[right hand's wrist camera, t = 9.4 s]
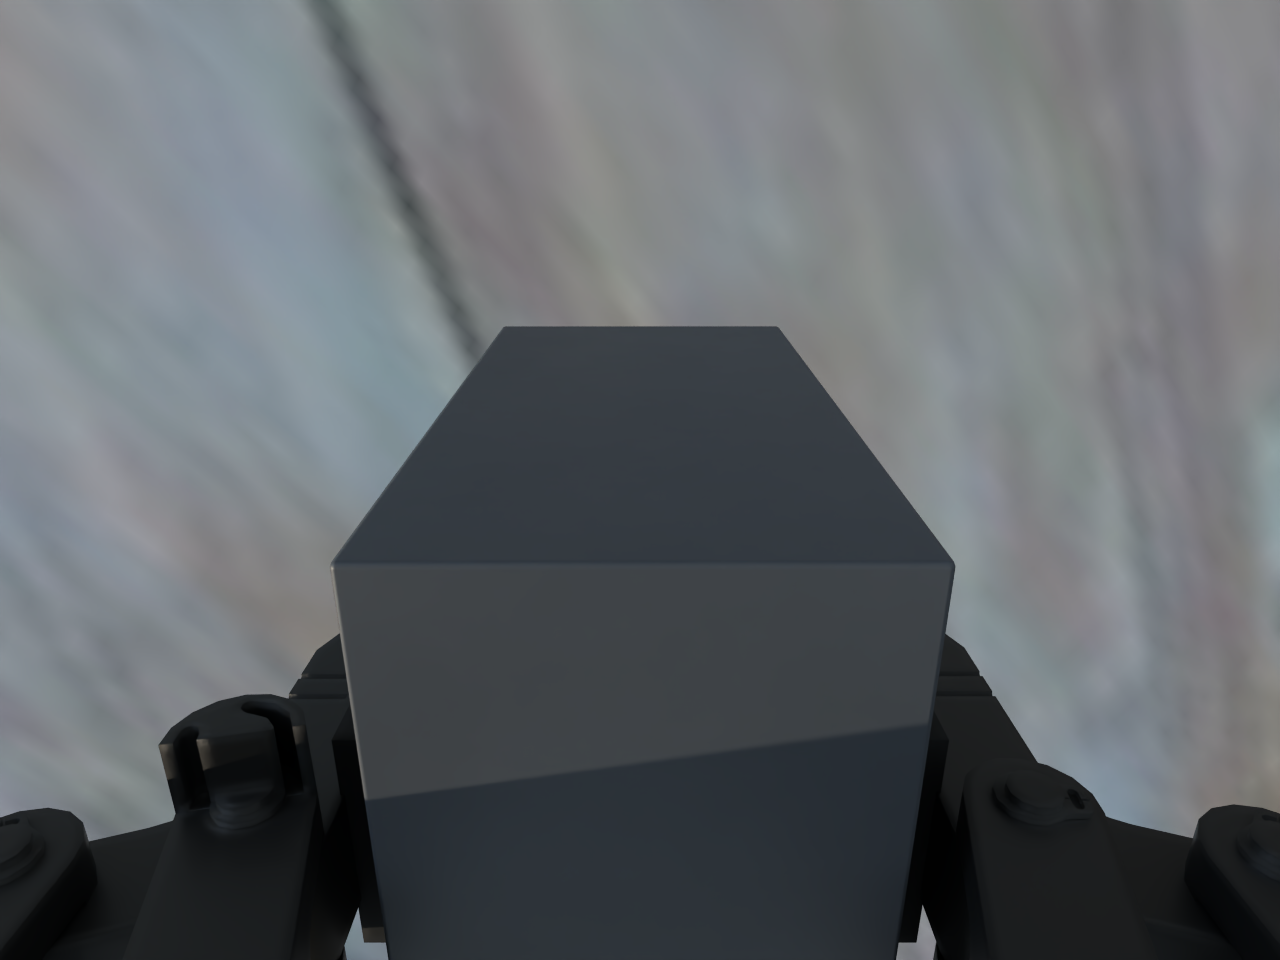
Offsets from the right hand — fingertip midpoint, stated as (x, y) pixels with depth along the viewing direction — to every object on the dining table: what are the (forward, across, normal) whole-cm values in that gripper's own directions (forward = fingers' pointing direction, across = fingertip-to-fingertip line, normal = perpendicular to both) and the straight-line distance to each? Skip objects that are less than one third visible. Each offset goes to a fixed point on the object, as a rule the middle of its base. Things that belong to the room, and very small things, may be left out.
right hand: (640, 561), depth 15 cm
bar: (+1, 0, -9) cm, 9 cm away
